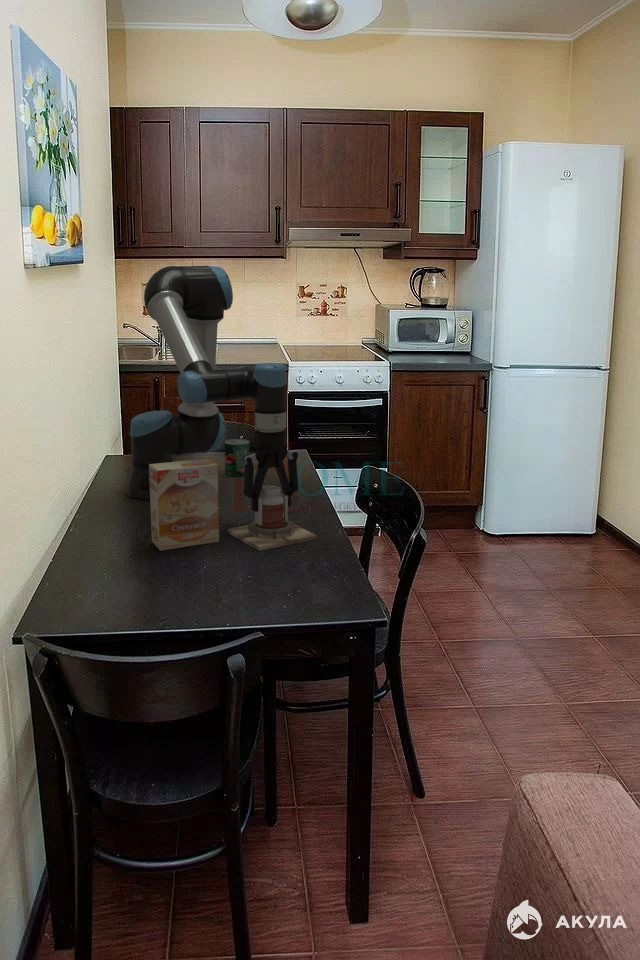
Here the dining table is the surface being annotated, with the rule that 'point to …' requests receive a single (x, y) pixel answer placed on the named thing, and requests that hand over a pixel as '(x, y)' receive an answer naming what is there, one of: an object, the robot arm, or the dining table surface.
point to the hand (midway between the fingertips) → (271, 521)
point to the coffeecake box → (184, 503)
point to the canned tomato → (236, 457)
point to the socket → (271, 535)
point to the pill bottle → (272, 508)
